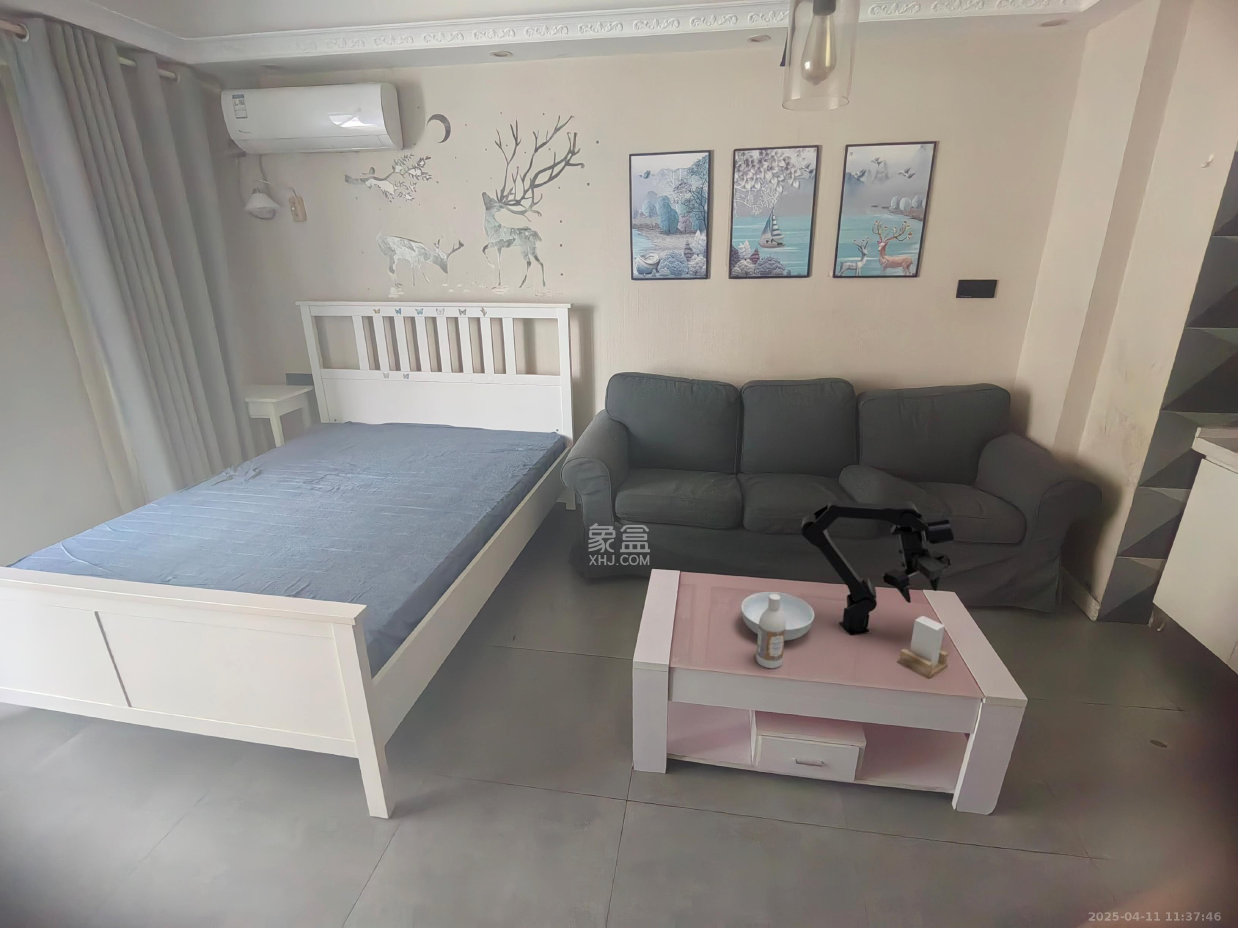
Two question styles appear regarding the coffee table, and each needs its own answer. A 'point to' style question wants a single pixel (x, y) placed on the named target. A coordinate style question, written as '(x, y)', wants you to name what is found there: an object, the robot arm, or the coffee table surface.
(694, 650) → the coffee table surface
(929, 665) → the slot holder
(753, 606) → the serving bowl
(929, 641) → the white rectangular box
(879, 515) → the robot arm
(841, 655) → the coffee table surface
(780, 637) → the bath foam
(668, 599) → the coffee table surface
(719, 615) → the coffee table surface
